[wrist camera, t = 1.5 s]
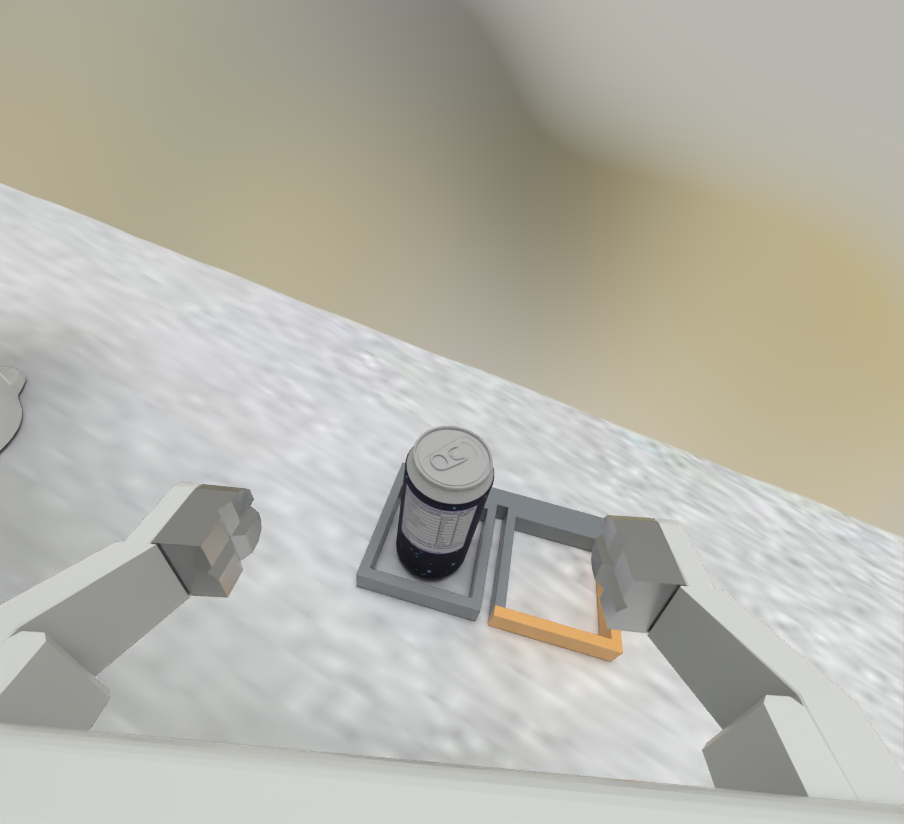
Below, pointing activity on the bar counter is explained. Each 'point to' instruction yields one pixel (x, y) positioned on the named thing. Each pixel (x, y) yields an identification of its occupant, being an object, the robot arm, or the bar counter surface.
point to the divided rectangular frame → (500, 569)
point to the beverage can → (442, 499)
